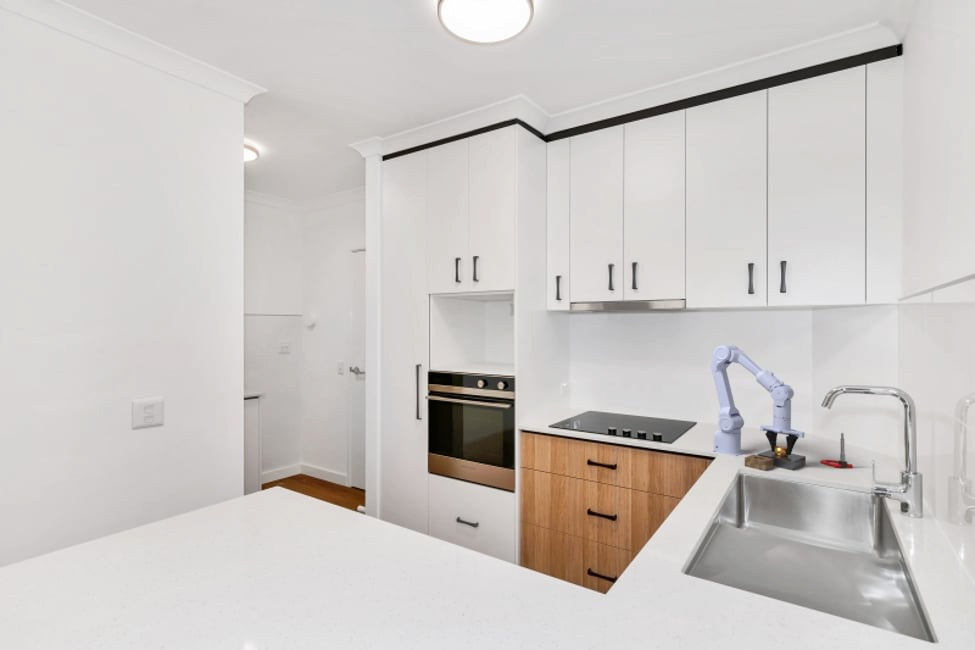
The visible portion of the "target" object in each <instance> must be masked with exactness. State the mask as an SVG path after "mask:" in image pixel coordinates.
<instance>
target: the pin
mask: <svg viewBox="0 0 975 650" xmlns="http://www.w3.org/2000/svg"><path fill="white" fill-rule="evenodd" d="M774 455H776V456H780V457H788V455H787V446H782V445H776V446H775V450H774Z"/></svg>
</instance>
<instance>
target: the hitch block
mask: <svg viewBox="0 0 975 650" xmlns="http://www.w3.org/2000/svg"><path fill="white" fill-rule="evenodd" d="M756 455H758V456H763V457H767V458H772V459H774V460H773V468H774V467H776V468H779V469H784V470H788V471H792V470H793V471H794V470H797V469H800V468H802V467H804V466H806V457H807V456H805V455H801V454H796V453H791V455H788V457H780V456H776V455H774V452H772V450H771V449H769V450H765V451H763V452H759V453H757V454H756Z"/></svg>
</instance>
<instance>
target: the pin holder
mask: <svg viewBox="0 0 975 650" xmlns="http://www.w3.org/2000/svg"><path fill="white" fill-rule="evenodd" d="M773 460H774V459H772V458H767V457H763V456H758V455H757V454H751V455H748V456H746V457H745V456H744V467H746V468H750V469H755V470H758V471H763V472H766V471H768V470H771V469H774V466H773Z"/></svg>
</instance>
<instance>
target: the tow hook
mask: <svg viewBox="0 0 975 650" xmlns="http://www.w3.org/2000/svg"><path fill="white" fill-rule="evenodd" d="M844 435H845V434H844V432H841V433H840V453H839V460H834V459H821V460H820V463H821V464H822V465H825V466H831V467H832V468H834V469H853V467H854V466H853V464H852V463H848V461H847V460H846V453H845V450H846V449H845V437H844ZM831 462H832V463H831Z"/></svg>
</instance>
